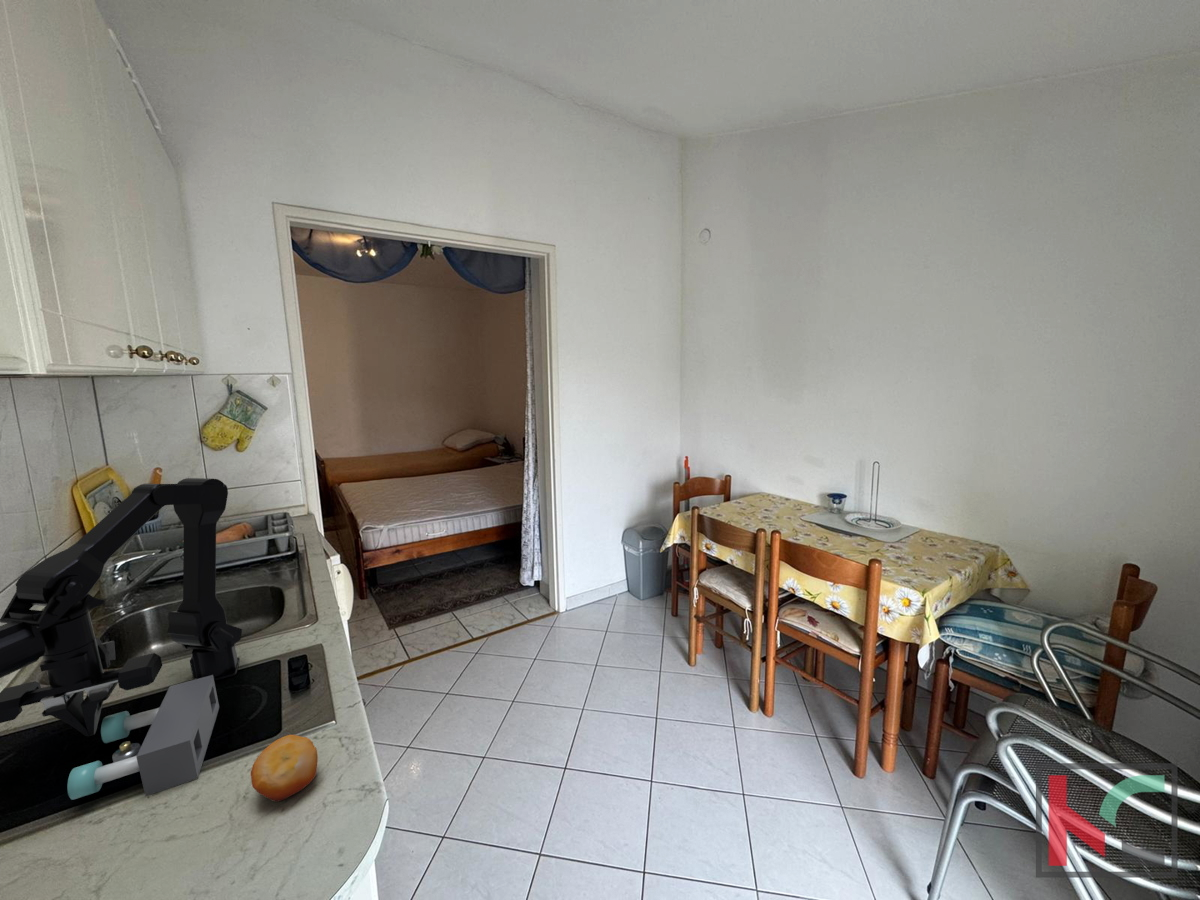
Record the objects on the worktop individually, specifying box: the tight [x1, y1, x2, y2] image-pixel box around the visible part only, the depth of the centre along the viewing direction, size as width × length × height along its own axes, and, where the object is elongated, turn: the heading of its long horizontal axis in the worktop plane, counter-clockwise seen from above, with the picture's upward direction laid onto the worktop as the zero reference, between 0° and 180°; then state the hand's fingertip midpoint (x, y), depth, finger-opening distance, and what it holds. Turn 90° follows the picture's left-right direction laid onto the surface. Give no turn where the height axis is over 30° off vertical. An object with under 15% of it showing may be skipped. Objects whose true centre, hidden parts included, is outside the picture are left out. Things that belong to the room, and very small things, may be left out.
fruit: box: [250, 734, 319, 802], centre depth 72 cm, size 8×8×8 cm
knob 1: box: [100, 707, 160, 744], centre depth 82 cm, size 9×4×4 cm, turn 119°
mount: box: [136, 675, 220, 797], centre depth 80 cm, size 6×18×6 cm, turn 29°
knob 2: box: [66, 756, 140, 801], centre depth 72 cm, size 9×4×4 cm, turn 119°
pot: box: [111, 740, 142, 763], centre depth 77 cm, size 3×3×4 cm
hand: (91, 733), depth 80 cm, fingers closed
